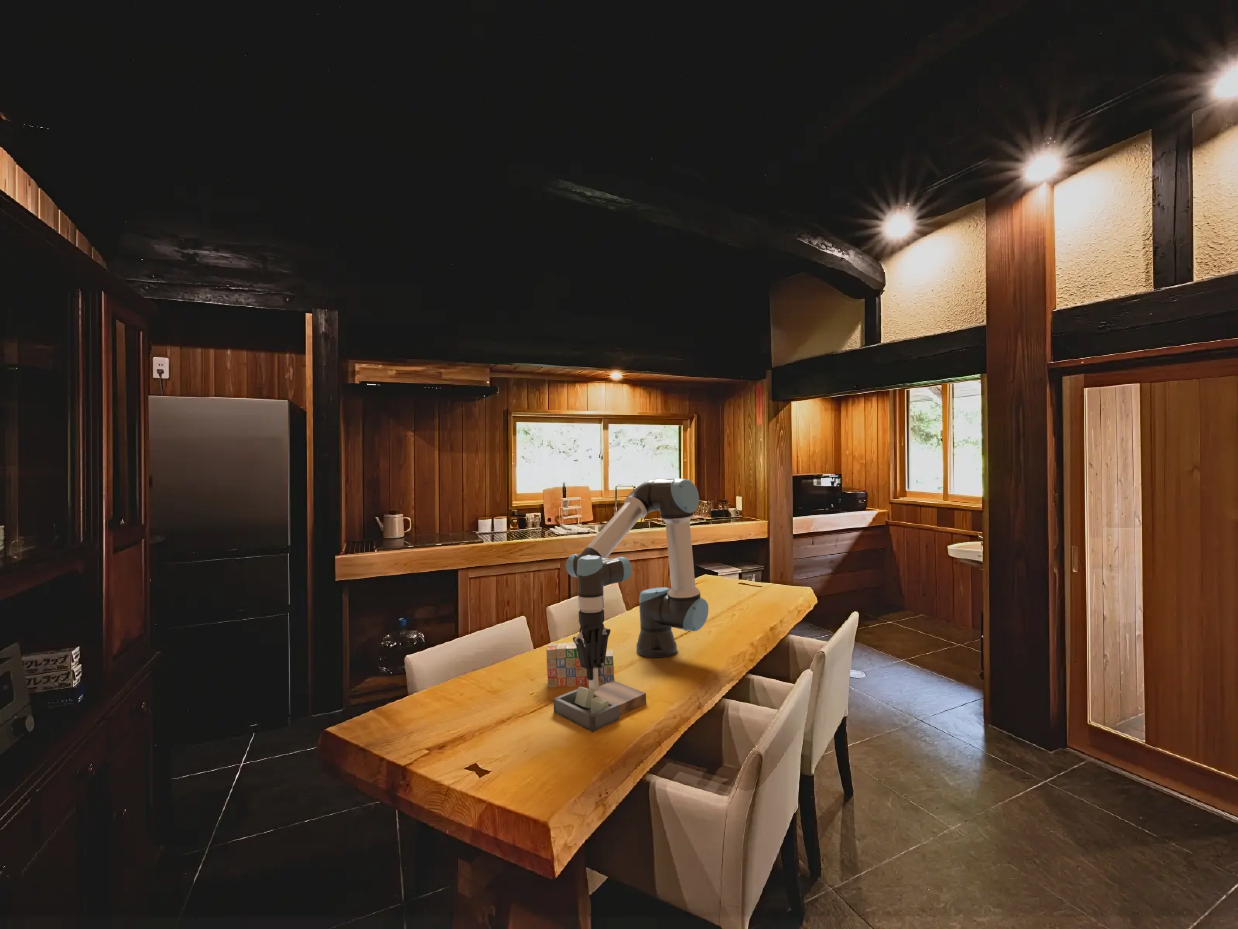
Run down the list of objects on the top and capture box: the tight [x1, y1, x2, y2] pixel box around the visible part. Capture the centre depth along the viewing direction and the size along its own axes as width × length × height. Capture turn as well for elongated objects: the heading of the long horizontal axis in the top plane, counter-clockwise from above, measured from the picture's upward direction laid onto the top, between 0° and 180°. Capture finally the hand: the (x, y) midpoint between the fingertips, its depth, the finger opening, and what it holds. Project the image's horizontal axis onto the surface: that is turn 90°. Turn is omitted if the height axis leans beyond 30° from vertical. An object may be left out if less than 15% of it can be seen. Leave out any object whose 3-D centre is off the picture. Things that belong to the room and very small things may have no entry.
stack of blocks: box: [545, 641, 615, 688], centre depth 177 cm, size 21×6×12 cm, turn 90°
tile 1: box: [574, 686, 595, 708], centre depth 158 cm, size 4×4×2 cm
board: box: [593, 679, 647, 717], centre depth 161 cm, size 12×14×3 cm
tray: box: [552, 688, 621, 733], centre depth 153 cm, size 10×17×4 cm, turn 43°
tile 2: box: [591, 696, 608, 714], centre depth 151 cm, size 4×4×2 cm
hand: (593, 689), depth 160 cm, fingers closed
